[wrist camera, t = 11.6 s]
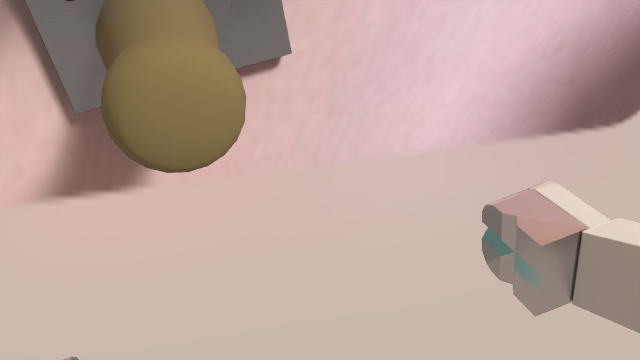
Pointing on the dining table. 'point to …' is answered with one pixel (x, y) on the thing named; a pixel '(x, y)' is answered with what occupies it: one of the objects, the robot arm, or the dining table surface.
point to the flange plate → (86, 63)
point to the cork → (168, 84)
